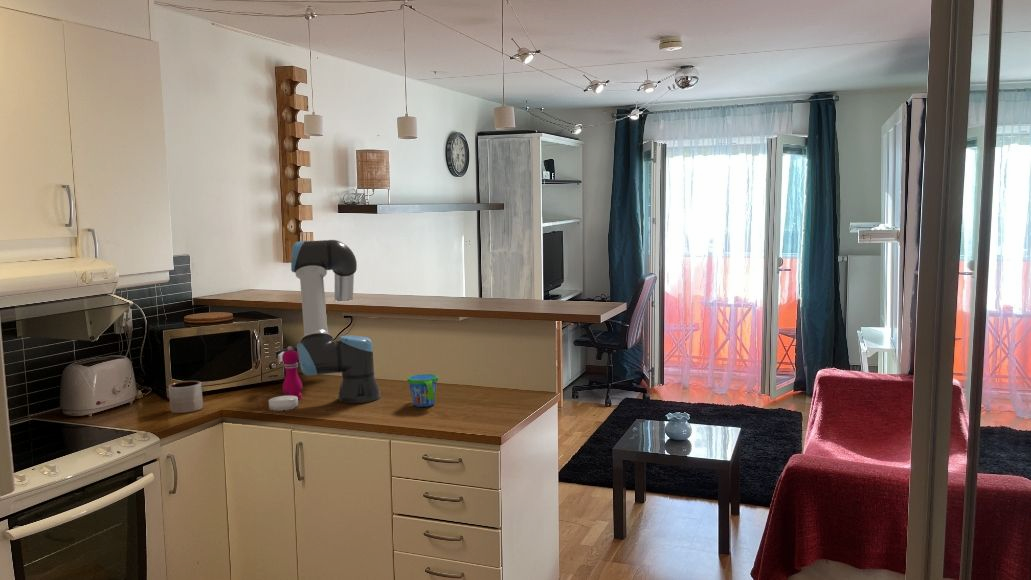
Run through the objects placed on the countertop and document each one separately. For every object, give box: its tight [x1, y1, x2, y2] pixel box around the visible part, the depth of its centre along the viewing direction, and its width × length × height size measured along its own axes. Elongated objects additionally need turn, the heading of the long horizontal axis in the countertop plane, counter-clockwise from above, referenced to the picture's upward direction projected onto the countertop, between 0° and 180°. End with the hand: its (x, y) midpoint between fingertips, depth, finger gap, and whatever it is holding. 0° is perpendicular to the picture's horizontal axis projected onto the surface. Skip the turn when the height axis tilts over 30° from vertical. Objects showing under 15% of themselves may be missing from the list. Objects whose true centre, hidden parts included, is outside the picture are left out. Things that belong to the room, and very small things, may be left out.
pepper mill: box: [282, 345, 304, 400], centre depth 289 cm, size 7×7×20 cm
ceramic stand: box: [268, 395, 299, 412], centre depth 278 cm, size 10×10×3 cm
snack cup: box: [406, 373, 439, 408], centre depth 274 cm, size 16×10×10 cm
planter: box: [168, 380, 204, 414], centre depth 278 cm, size 11×11×10 cm
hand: (297, 358), depth 298 cm, fingers open, 13 cm apart
